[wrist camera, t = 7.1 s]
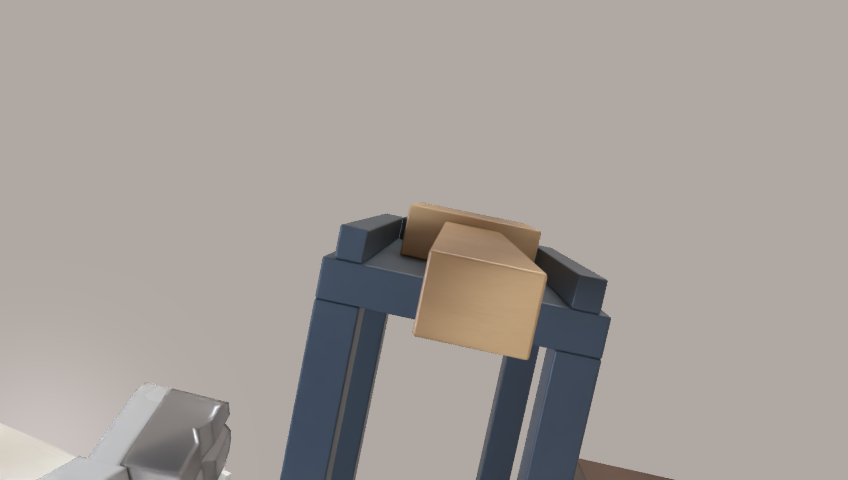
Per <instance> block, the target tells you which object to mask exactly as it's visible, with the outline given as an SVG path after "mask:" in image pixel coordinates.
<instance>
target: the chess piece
mask: <svg viewBox="0 0 848 480" xmlns="http://www.w3.org/2000/svg"><path fill="white" fill-rule="evenodd" d="M225 466H226V462H225V465H224V468H223V470H222V472H221V474H220V476H219V478H218V480H230V478H231V474H230V473H229V472H227V471H225Z"/></svg>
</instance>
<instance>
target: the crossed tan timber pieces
mask: <svg viewBox="0 0 848 480" xmlns="http://www.w3.org/2000/svg"><path fill="white" fill-rule="evenodd" d="M540 235H541V231H539V230H537V229H535V228H532V227H530V226H528V225H525V224H523V223H519V222H514V221H509V220H504V219H499V218H495V217H490V216H485V215H480V214H475V213H470V212H465V211H461V210H456V209H451V208H446V207H441V206H437V205H432V204H427V203H417V204H411V205H410V207H409V213H408V217H407V222H406V227H405V232H404V237H403V242H402V247H401V252H400V254H401V255H403V256H408V257H413V258H417V259H422V260H427V264H426V268H425V273H424V278H423V283H422V288H421V293H420V297H419V302H418V307H417V312H416V317H415V322H414V326H413V331H412V333H413V335H414V336H416V337H421V338H426V339H430V340H435V341H439V342H444V343H449V344H454V345H458V346H462V347H467V348H472V349H477V350H481V351H486V352H491V353H495V354H499V355H504V356H509V357H513V358H518V359H523V360H528V359H529V357H530V352H531V348H532V343H533V339H534V334H535V330H536V325H537V321H538V316H539V312H540V307H541V303H542V299H543V294H544V290H545V285H546V281H547V274H546V273H545V272H544V271H542V270H541V269H540V268H539V267H538V266H537V265H536V264H535V263H534V262H535V258H536V253H537V249H538V244H539V239H540Z"/></svg>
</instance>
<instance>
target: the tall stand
mask: <svg viewBox="0 0 848 480" xmlns="http://www.w3.org/2000/svg"><path fill="white" fill-rule="evenodd" d="M402 220H403V221H402ZM406 222H407V217H404V218H402V217H399V216H395V215H390V214H383V215H380V216H376V217H371V218H367V219H363V220H359V221H355V222H351V223H347V224H343V225H341V227H340V232H339V237H338V242H337V247H336V251H335V252H333V253H331V254H328V255H326V256H324V257H323V259H322V264H321V270H320V275H319V280H318V285H317V291H316V299H315V301H314V305H313V311H312V316H311V321H310V327H309V332H308V337H307V342H306V348H305V352H304V358H303V363H302V368H301V373H300V378H299V383H298V389H297V394H296V399H295V404H294V410H293V415H292V420H291V425H290V431H289V436H288V441H287V446H286V451H285V457H284V462H283V467H282V472H281V477H280V480H355V477H356V472H357V467H358V462H359V457H360V452H361V447H362V443H363V438H364V432H365V428H366V423H367V418H368V413H369V408H370V403H371V398H372V393H373V388H374V383H375V378H376V374H377V368H378V363H379V359H380V354H381V349H382V344H383V339H384V334H385V329H386V324H387V319H388V314H392V315H397V316H401V317H406V318H411V319H415V317H416V312H417V307H418V302H419V297H420V293H421V288H422V283H423V278H424V273H425V268H426V264H427V260H422V259H417V258H413V257H408V256H403V255H401V254H400V252H401V247H402V242H403V237H404V232H405V227H406ZM401 225H402V226H401ZM400 230H401V231H400ZM399 235H400V236H399ZM534 263H535V264H536V265H537V266H538V267H539V268H540V269H541V270H542V271H544V272H545V273H546V274H547V281H546V285H545V290H544V294H543V299H542V303H541V307H540V312H539V316H538V321H537V325H536V330H535V334H534V339H533V343H532V348H531V352H530V357H529V359H528V360H523V359H518V358H513V357H509V356H504V355H503V359H502V364H501V368H500V373H499V377H498V382H497V387H496V392H495V396H494V400H493V405H492V409H491V414H490V418H489V423H488V428H487V432H486V437H485V441H484V446H483V450H482V455H481V459H480V464H479V468H478V473H477V478H476V480H510V475H511V471H512V466H513V461H514V457H515V453H516V448H517V444H518V440H519V435H520V431H521V426H522V422H523V417H524V413H525V408H526V404H527V400H528V395H529V391H530V386H531V382H532V377H533V373H534V368H535V364H536V359H537V355H538V350H539V346H541V347H546V348H547V350H546V354H545V358H544V363H543V367H542V372H541V376H540V381H539V385H538V389H537V394H536V398H535V403H534V407H533V411H532V416H531V421H530V425H529V429H528V434H527V438H526V442H525V447H524V451H523V456H522V460H521V465H520V469H519V473H518V478H517V480H573V479H574V475H575V471H576V466H577V462H578V458H579V454H580V449H581V445H582V441H583V436H584V432H585V428H586V424H587V419H588V415H589V411H590V406H591V402H592V398H593V394H594V389H595V385H596V381H597V377H598V372H599V367H600V364H601V360H600V359H601V358H602V355H603V351H604V346H605V342H606V338H607V334H608V329H609V325H610V320H611V318H610V317H609V316H608V315H607V314H606V313H604V312H603V311H602V310H601V308H602V303H603V299H604V295H605V290H606V286H607V282H608V281H607V280H606V279H604V278H603V277H601V276H599V275H597V274H596V273H594V272H592V271H591V270H589V269H587V268H585V267H583V266H582V265H580V264H578V263H577V262H575V261H573V260H571V259H569V258H568V257H566V256H564V255H562V254H561V253H559V252H557V251H555V250H554V249H552V248H549V247H544V246H539V245H538V249H537V253H536V258H535V262H534Z"/></svg>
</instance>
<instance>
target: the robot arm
mask: <svg viewBox="0 0 848 480" xmlns="http://www.w3.org/2000/svg"><path fill="white" fill-rule="evenodd" d="M229 415H230V412H229V403H228V402H224V401H221V400H217V399H213V398H208V397H204V396H200V395H196V394H193V393H188V392H184V391H180V390H176V389H173V388H169V387H165V386H160V385H155V384H152V383H147V382H146V383H144V384H143V385H142V386H141V387H139V388H138V389H137V390H136V391H135V393H134V394H133V395H132V397H131V398H130V400H129V401H128V403H127V404H126V405H125V407H124V408H123V409H122V411H121V412H120V413H119V415H118V416H117V418H116V419H115V420H114V422H113V423H112V425H111V426H110V427H109V429H108V430H107V432H106V433H105V434H104V436H103V437H102V438H101V440H100V441H99V443H98V444H97V445H96V447H95V448H94V450H93V451H92V452H91V454H90V455H89V456H88V458H86V457H81V456H79V457H77V458H75V459H73V460H72V461H70V462H68V463H66V464H64V465H63V466H61V467H59V468H57V469H55V470H54V471H52V472H50V473H48V474H46V475H45V476H43V477H41V478H39V479H37V480H218V478H219V476H220V474H221V472H222V470H223V468H224V465H225V462H226V459H227V456H228V453H229V448H230V442H231V430H230V429H229V428H228V427H227V425H226V424H225V422H226V421H227V419H228V417H229Z"/></svg>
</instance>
